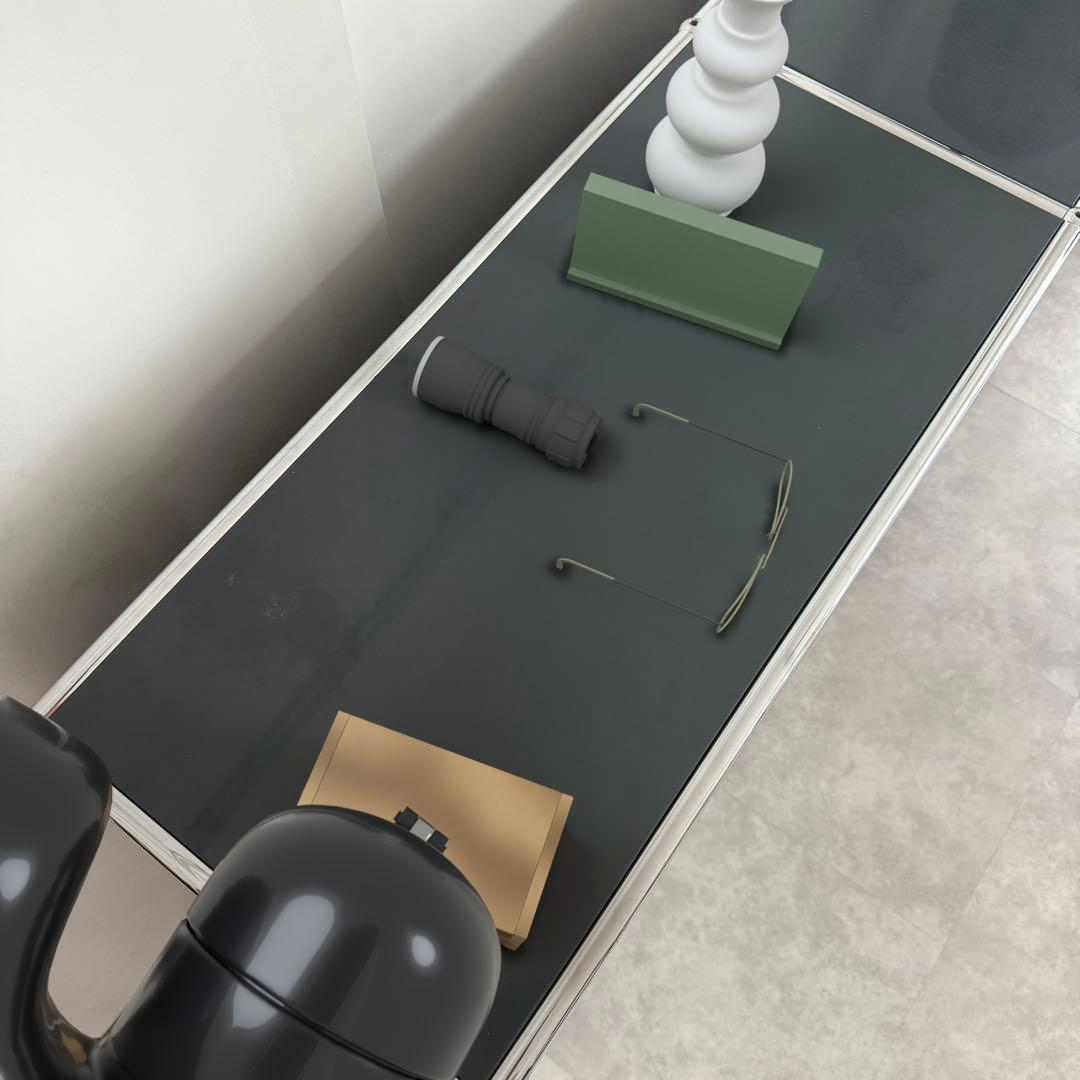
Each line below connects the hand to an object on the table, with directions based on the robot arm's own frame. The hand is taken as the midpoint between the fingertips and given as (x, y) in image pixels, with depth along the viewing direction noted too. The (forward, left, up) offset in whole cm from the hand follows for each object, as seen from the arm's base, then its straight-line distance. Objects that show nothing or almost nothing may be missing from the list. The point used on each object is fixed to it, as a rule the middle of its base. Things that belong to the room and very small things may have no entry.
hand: (348, 921), depth 57 cm
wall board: (+60, +6, -20) cm, 63 cm away
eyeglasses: (+40, -4, -21) cm, 45 cm away
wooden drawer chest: (+8, 0, -20) cm, 22 cm away
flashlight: (+41, +13, -21) cm, 48 cm away
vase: (+72, +10, -21) cm, 75 cm away
